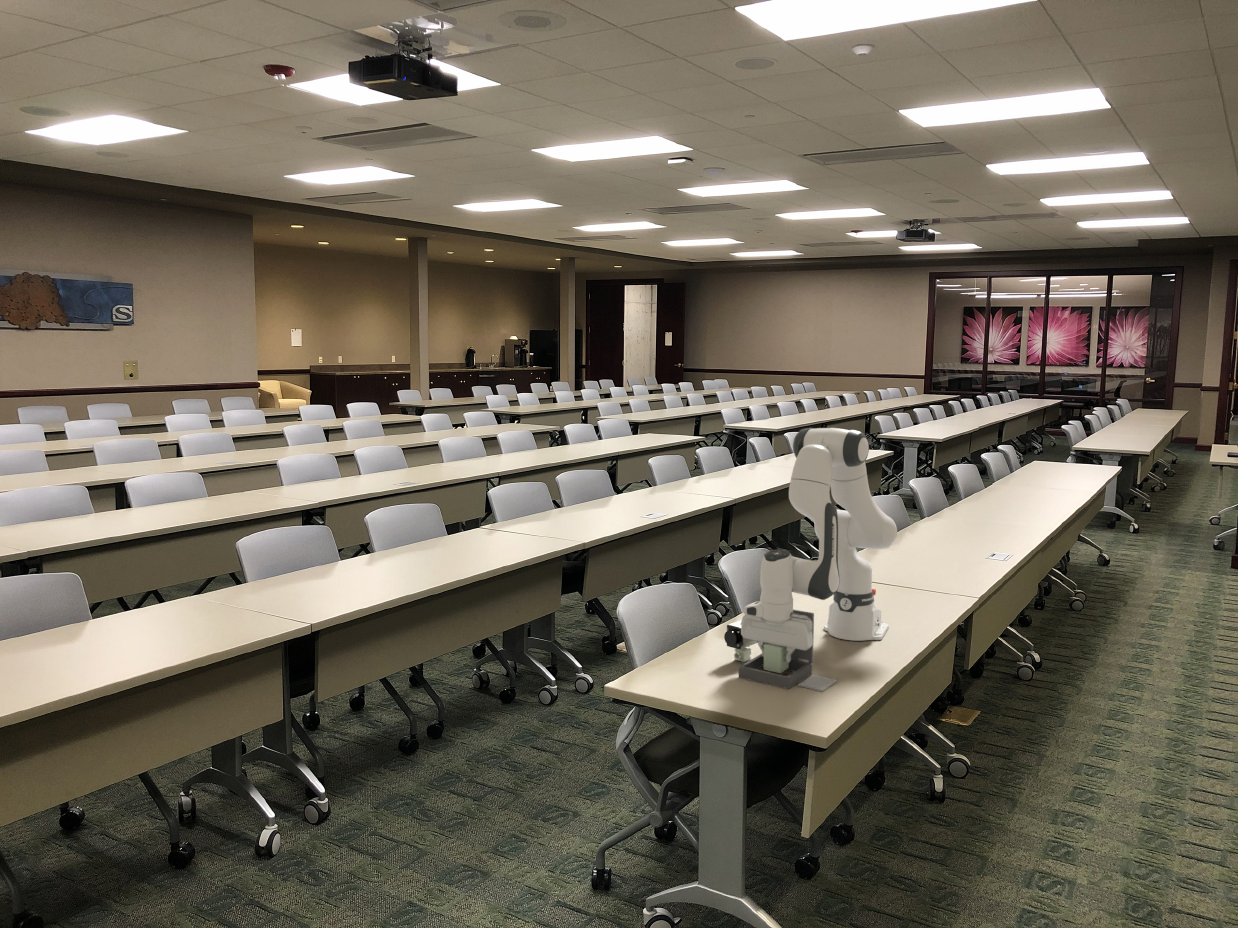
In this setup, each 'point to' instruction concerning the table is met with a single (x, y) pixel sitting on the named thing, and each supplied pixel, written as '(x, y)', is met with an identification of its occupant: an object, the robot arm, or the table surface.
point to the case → (798, 664)
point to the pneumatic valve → (738, 642)
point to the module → (775, 658)
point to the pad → (817, 683)
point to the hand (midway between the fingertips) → (776, 659)
